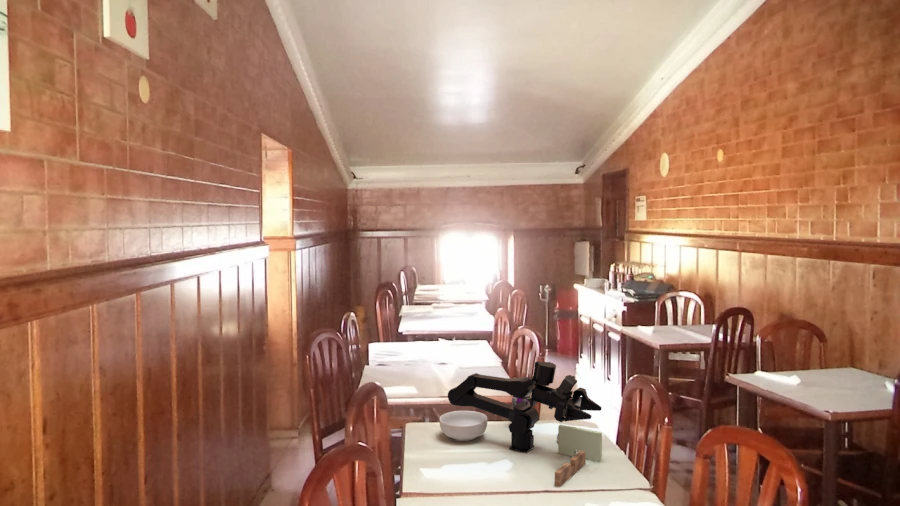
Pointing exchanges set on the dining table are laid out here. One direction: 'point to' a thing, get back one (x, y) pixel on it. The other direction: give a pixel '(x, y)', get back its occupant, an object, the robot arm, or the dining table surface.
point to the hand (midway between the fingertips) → (596, 412)
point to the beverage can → (520, 400)
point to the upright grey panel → (580, 442)
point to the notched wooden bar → (569, 468)
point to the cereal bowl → (463, 424)
